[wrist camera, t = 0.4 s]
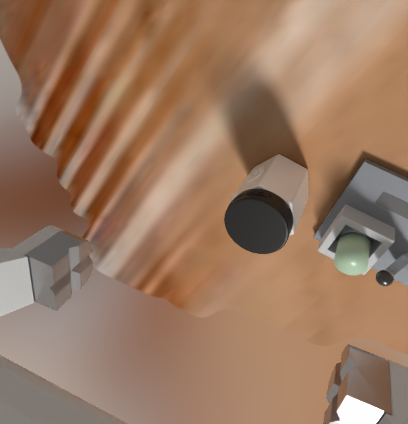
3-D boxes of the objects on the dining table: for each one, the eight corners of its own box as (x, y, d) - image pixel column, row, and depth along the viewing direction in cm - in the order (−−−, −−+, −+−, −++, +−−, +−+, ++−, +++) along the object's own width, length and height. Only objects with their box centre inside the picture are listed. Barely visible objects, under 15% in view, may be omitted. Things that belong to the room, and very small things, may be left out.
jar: (291, 144, 48) (265, 185, 40) (323, 192, 50) (305, 242, 41) (241, 172, 54) (208, 213, 45) (271, 214, 56) (245, 262, 47)
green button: (347, 226, 47) (343, 244, 44) (376, 241, 47) (374, 260, 44) (333, 246, 50) (328, 264, 47) (360, 260, 49) (357, 280, 46)
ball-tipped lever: (403, 249, 48) (379, 269, 44) (416, 260, 47) (393, 281, 43) (392, 261, 50) (368, 280, 46) (405, 271, 49) (382, 292, 45)
